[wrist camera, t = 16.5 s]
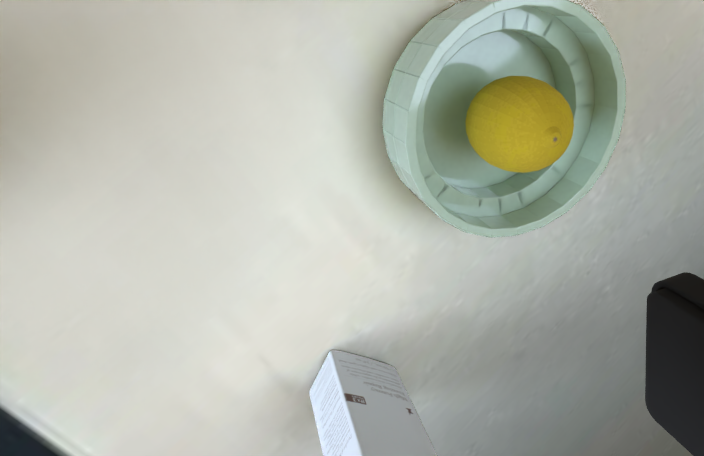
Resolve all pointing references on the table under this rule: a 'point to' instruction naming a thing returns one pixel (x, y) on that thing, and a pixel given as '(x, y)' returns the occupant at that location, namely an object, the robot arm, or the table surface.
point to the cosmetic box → (365, 410)
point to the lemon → (519, 124)
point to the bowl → (476, 72)
